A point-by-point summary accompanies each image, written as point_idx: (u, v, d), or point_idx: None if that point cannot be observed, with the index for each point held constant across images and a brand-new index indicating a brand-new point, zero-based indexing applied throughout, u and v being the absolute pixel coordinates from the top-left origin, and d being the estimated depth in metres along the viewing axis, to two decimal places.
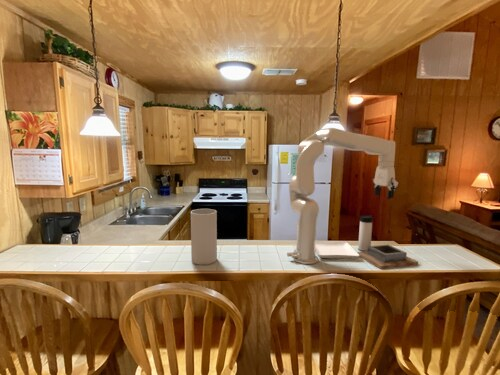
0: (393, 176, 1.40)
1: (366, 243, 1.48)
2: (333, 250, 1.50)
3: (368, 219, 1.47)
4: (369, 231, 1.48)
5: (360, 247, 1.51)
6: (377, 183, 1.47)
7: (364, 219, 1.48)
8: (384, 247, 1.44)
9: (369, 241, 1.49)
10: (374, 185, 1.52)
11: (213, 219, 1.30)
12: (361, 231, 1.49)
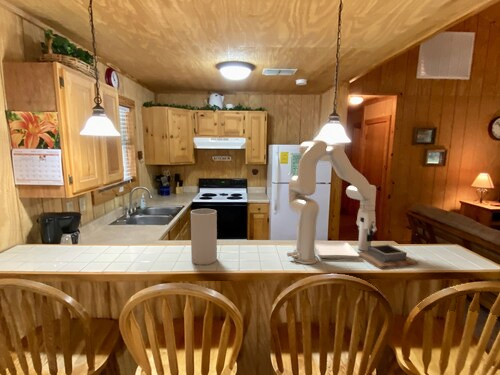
0: (374, 220, 1.45)
1: (366, 243, 1.48)
2: (333, 250, 1.50)
3: None
4: None
5: (360, 247, 1.51)
6: (359, 225, 1.52)
7: None
8: (384, 247, 1.44)
9: (369, 241, 1.49)
10: (358, 227, 1.56)
11: (213, 219, 1.30)
12: (361, 231, 1.49)
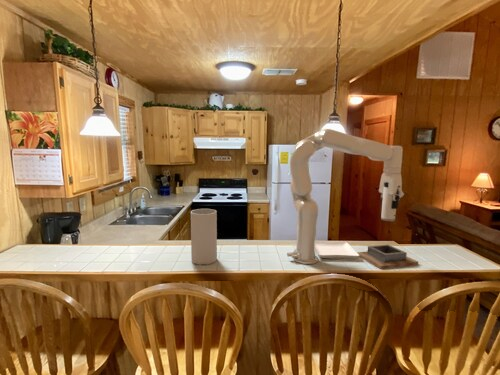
0: (400, 184, 1.30)
1: (391, 210, 1.33)
2: (333, 250, 1.50)
3: None
4: None
5: (384, 216, 1.35)
6: (382, 191, 1.36)
7: None
8: (384, 247, 1.44)
9: None
10: (381, 195, 1.40)
11: (213, 219, 1.30)
12: (385, 198, 1.34)
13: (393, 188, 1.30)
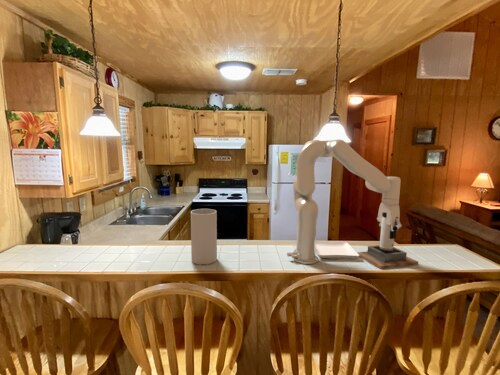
0: (398, 215, 1.32)
1: (389, 240, 1.35)
2: (333, 250, 1.50)
3: None
4: None
5: (382, 245, 1.37)
6: (381, 221, 1.38)
7: None
8: None
9: None
10: (379, 224, 1.42)
11: (213, 219, 1.30)
12: (383, 227, 1.36)
13: (391, 219, 1.31)
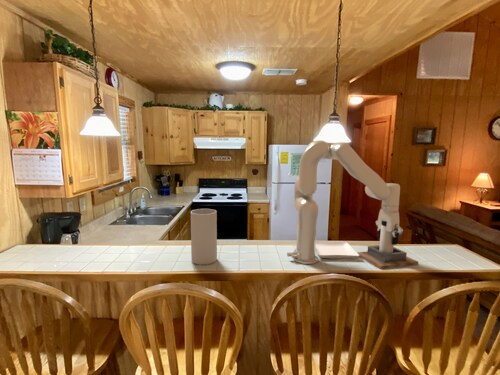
0: (397, 222, 1.32)
1: (389, 249, 1.35)
2: (333, 250, 1.50)
3: None
4: (392, 236, 1.35)
5: None
6: (380, 227, 1.38)
7: (386, 223, 1.34)
8: None
9: (391, 247, 1.35)
10: (377, 228, 1.44)
11: (213, 219, 1.30)
12: (383, 236, 1.36)
13: (391, 226, 1.32)
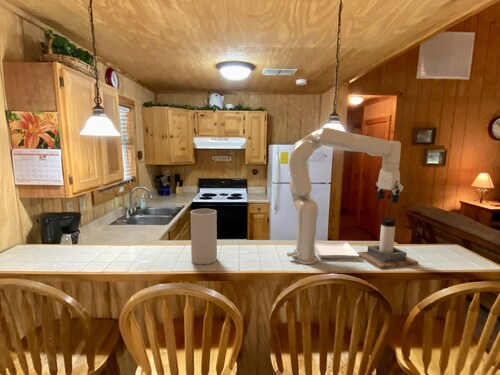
0: (398, 179, 1.30)
1: (389, 249, 1.35)
2: (333, 250, 1.50)
3: (391, 223, 1.34)
4: (392, 236, 1.35)
5: None
6: (380, 186, 1.37)
7: (386, 223, 1.34)
8: None
9: (391, 247, 1.35)
10: None
11: (213, 219, 1.30)
12: (383, 236, 1.36)
13: (391, 183, 1.30)
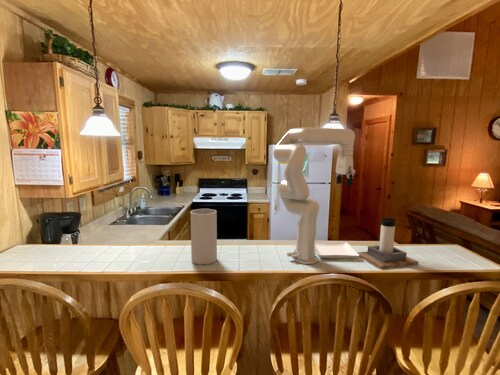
0: (351, 165, 1.47)
1: (389, 249, 1.35)
2: (333, 250, 1.50)
3: (391, 223, 1.34)
4: (392, 236, 1.35)
5: None
6: (338, 172, 1.53)
7: (386, 223, 1.34)
8: None
9: (391, 247, 1.35)
10: (336, 174, 1.58)
11: (213, 219, 1.30)
12: (383, 236, 1.36)
13: (345, 168, 1.46)
